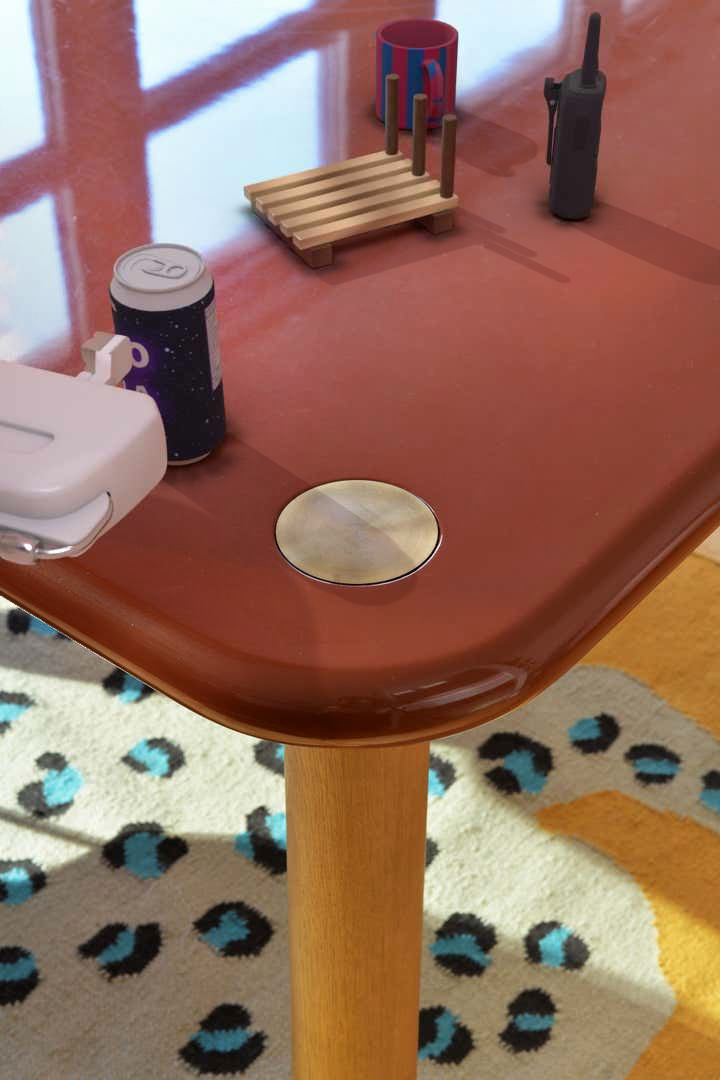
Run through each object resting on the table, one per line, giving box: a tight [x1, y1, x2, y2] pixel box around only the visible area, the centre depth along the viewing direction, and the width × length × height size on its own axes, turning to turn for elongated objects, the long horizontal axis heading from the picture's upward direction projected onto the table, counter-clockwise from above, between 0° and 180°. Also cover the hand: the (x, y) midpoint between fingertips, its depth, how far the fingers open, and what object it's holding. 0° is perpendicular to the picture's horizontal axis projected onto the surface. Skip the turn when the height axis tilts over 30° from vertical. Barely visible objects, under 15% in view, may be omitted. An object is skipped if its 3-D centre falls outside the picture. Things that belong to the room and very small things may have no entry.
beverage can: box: [108, 242, 227, 466], centre depth 77 cm, size 6×6×12 cm
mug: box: [375, 17, 459, 131], centre depth 111 cm, size 7×10×7 cm
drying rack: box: [243, 74, 460, 270], centre depth 98 cm, size 13×10×8 cm
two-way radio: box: [543, 11, 607, 220], centre depth 98 cm, size 6×4×15 cm
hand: (27, 325), depth 62 cm, fingers open, 8 cm apart
